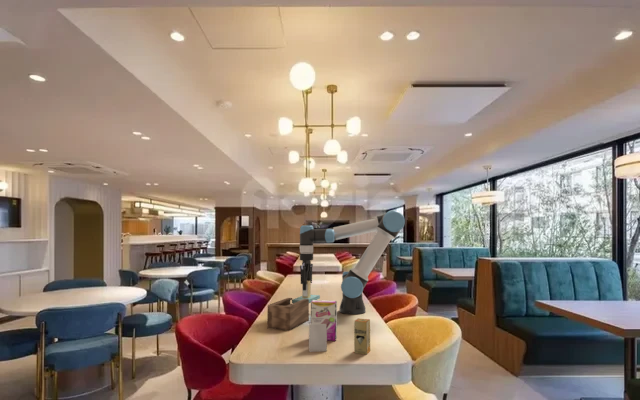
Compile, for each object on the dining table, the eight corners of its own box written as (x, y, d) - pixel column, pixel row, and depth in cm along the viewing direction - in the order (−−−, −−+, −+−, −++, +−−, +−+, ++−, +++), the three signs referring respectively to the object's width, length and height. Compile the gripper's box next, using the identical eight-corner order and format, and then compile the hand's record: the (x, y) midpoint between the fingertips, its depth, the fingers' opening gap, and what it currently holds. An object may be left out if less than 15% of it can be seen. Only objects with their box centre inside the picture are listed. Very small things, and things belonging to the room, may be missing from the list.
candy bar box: (310, 340, 168) (310, 301, 170) (311, 337, 173) (311, 299, 175) (336, 341, 167) (336, 302, 169) (337, 338, 172) (336, 300, 174)
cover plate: (319, 298, 227) (320, 279, 228) (306, 304, 209) (306, 283, 210) (306, 297, 230) (306, 278, 231) (291, 303, 212) (292, 282, 213)
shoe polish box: (358, 349, 156) (357, 318, 157) (370, 350, 154) (370, 319, 155) (354, 352, 152) (354, 320, 153) (366, 354, 150) (366, 322, 151)
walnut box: (308, 320, 207) (308, 299, 208) (290, 330, 185) (290, 306, 186) (287, 318, 211) (288, 297, 212) (267, 328, 190) (267, 305, 190)
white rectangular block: (326, 351, 154) (326, 325, 155) (309, 351, 153) (309, 325, 154) (325, 348, 157) (325, 322, 158) (308, 348, 157) (308, 323, 158)
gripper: (305, 252, 231) (305, 293, 229) (294, 253, 215) (294, 297, 213) (317, 252, 228) (318, 293, 226) (307, 254, 213) (307, 298, 211)
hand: (306, 295), depth 220 cm, fingers closed on cover plate, 3 cm apart
